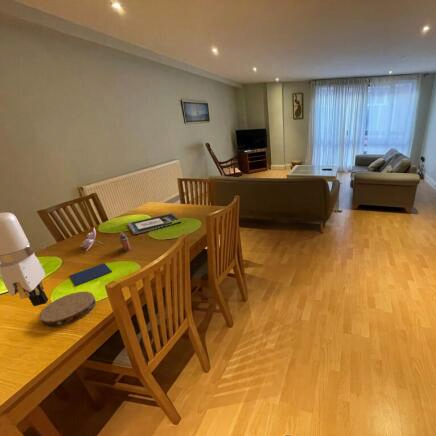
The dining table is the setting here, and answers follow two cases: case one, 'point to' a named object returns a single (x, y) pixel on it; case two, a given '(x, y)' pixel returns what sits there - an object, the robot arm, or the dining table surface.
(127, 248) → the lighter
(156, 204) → the dining table surface
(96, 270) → the cloth
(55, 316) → the brown round disc
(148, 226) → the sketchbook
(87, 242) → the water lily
